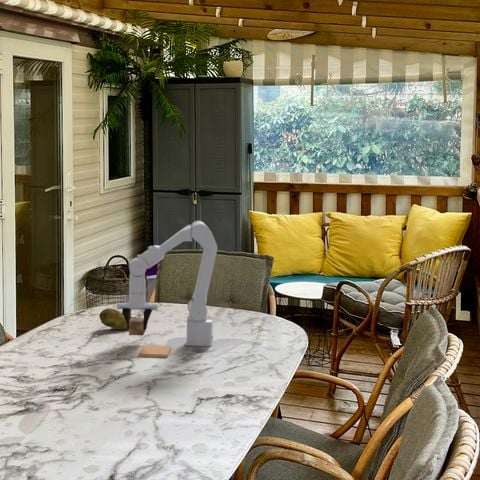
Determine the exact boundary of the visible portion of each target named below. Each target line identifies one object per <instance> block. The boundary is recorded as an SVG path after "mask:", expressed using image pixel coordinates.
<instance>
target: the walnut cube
mask: <svg viewBox="0 0 480 480" xmlns="http://www.w3.org/2000/svg"><path fill="white" fill-rule="evenodd" d="M144 334H146V330H144V317H133V318H131V319H130V321H129V330H128V335H129V336H144Z"/></svg>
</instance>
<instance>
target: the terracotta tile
mask: <svg viewBox="0 0 480 480" xmlns="http://www.w3.org/2000/svg"><path fill="white" fill-rule="evenodd" d="M171 351H172V345H154V344H143V345H142V347H141V348H140V350H139V352H138V355H137V356H138V357H147V358H168V357H169V356H170V353H171Z"/></svg>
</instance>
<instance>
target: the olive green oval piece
mask: <svg viewBox="0 0 480 480" xmlns="http://www.w3.org/2000/svg"><path fill="white" fill-rule="evenodd" d="M98 316H99V320H100V321H101V323H102V324H103V325H104V326H105V327H108V328H112V329H113V330H116V331H125V330H127V329H128V327H127V323H126V320H125V318H124V316H123V314H122V311H118V309H115V308H104V309H102V310H101V312H100V313H99V315H98ZM131 318H134V317H133V316H131Z"/></svg>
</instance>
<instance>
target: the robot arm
mask: <svg viewBox="0 0 480 480" xmlns="http://www.w3.org/2000/svg"><path fill="white" fill-rule="evenodd" d="M193 240H194V241H196V243H198V244H199V246H201V248H202V249H203V250H202V255H201V261H200V264H199V268H198V274H197V276H196V277H197V278H196V283H195V288H194V291H193V292H192V293H193V294H192V296H191V299H190V300H189V301H188V303H187V311H188V313H189V314H188V316H187V317H186V339H185V342H184V346H193V347H211V346H212V343H213V339H214V335H213V329H214V328H213V323H214V321H213V319H209V318H208V317H207V315H208V309H207V303H208V293H209V288H210V284H211V280H212V279H211V278H212V274H213V270H214V267H215V263H216V262H215V261H216V258H217V257H216V256H217V253H218V244H217V242H216V239H215V237H214V235H213V233H212V230H210V228H209V226H208V225H207V224H205V222H203V221H202V220H194V221H193V222H192V223H191V224H187V225H186V226H185V227H183V228H181V230H179V231H177V232H176V233H175V234H174V235H172V236H171V237H170V238H168V239H167V240H165V241H164V242H163V243H161V245H157V244H155V245H154V244H153V245H150V246H148V247H147V250H144V251H143V253H141V254H137V255H136V257H135V258H134V257H133V258H132V259H131V260H130V262H129V265H128V269H129V280H128V285H129V287H128V288H129V289H128V294H129V295H128V296H129V298H128V302H117V303H116V310H121V313H122V314H123V316H124V318H125V320H126V323H127V327H128V331H129V321H130V319H131V317H132V310H139V311H140V310H142V311H143V318H144V330H145V331H147V327H148V322H149V320H150V317H151V314H152V312H153V311H154V312H155V311H158V310H159V304H158V303H148V302H146V284H147V283H146V278H145V277H146V276H145V275H146V274H145V273H146V272H147V269H151V268H152V267H154V266H155V265H156V264H158V263H159V262H161V261H162V260H163V259H164V258H165V254H166V253H168V252H169V251H171V250H173V248H175V247H177V246H178V245H180V244H182V243H183V242H193Z"/></svg>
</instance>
